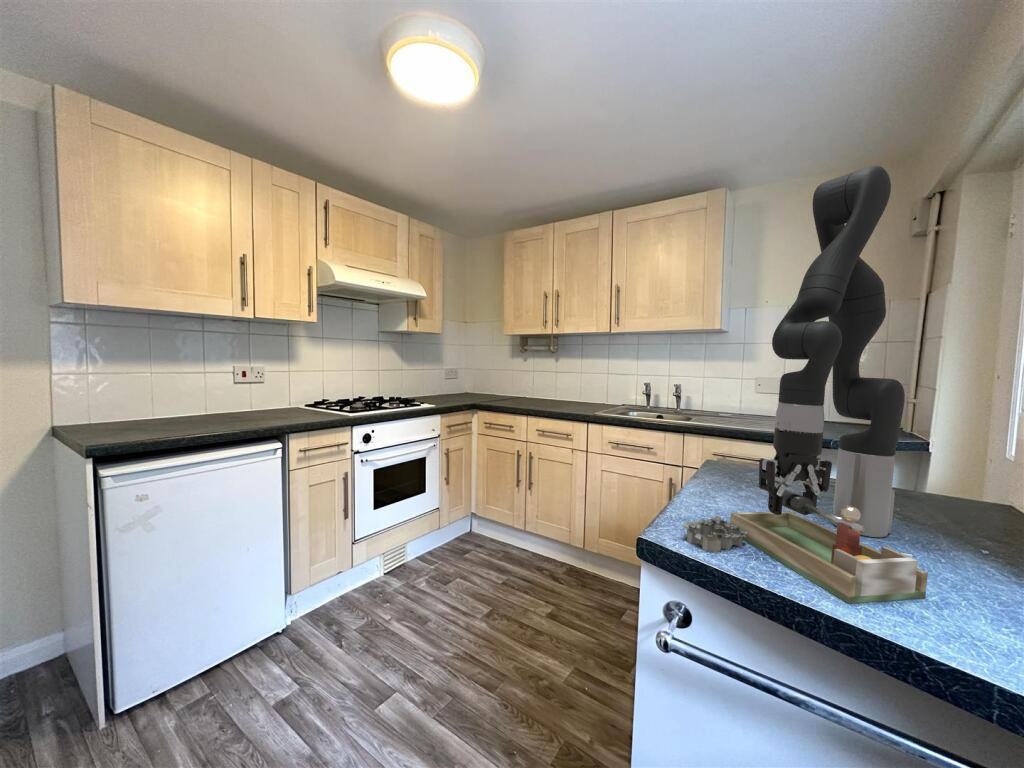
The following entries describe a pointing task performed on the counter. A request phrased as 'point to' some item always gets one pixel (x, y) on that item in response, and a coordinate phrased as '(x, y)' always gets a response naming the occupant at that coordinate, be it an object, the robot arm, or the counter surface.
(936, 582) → the counter surface
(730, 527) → the egg carton
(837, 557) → the wooden tray
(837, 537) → the foosball player rod
